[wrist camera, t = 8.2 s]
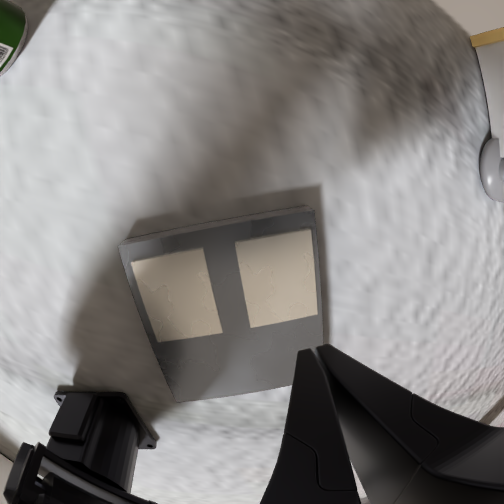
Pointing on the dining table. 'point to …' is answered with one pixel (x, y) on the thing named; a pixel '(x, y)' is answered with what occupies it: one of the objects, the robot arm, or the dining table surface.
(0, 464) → the photo printer
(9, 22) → the beer can
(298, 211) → the plate
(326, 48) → the dining table surface
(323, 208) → the dining table surface
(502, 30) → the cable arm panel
